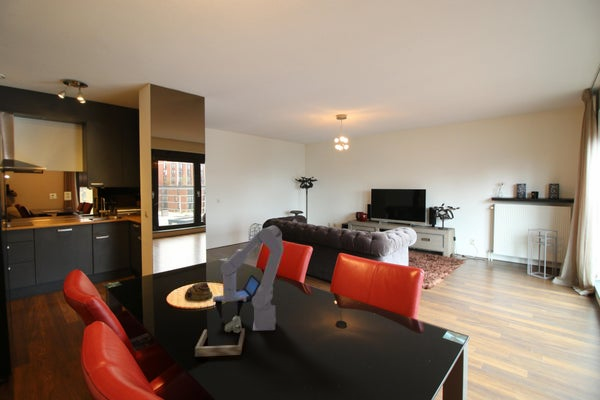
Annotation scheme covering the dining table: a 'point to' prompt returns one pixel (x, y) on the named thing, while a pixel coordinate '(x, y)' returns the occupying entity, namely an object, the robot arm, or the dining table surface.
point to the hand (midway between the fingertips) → (229, 316)
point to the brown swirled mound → (198, 292)
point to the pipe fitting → (234, 325)
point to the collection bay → (218, 347)
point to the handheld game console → (249, 288)
